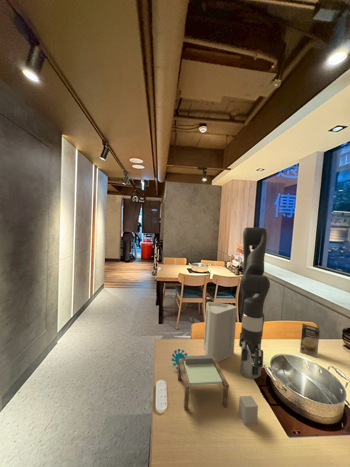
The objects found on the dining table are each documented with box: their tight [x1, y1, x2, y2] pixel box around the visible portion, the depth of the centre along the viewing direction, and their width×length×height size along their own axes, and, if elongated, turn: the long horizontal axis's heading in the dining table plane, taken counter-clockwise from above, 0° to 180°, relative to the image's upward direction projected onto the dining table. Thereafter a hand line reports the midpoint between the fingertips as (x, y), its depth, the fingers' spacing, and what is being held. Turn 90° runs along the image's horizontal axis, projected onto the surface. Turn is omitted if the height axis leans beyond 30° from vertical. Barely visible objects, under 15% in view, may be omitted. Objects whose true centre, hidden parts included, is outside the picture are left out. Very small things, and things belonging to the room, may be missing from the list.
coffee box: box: [299, 323, 320, 358], centre depth 130 cm, size 9×6×16 cm
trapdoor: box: [184, 354, 222, 386], centre depth 94 cm, size 14×14×4 cm
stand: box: [177, 358, 230, 411], centre depth 94 cm, size 18×18×10 cm
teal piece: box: [171, 348, 188, 371], centre depth 112 cm, size 11×6×10 cm
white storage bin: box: [203, 301, 238, 363], centre depth 124 cm, size 19×15×28 cm
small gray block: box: [238, 395, 259, 426], centre depth 82 cm, size 5×5×7 cm
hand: (249, 367), depth 81 cm, fingers open, 8 cm apart
